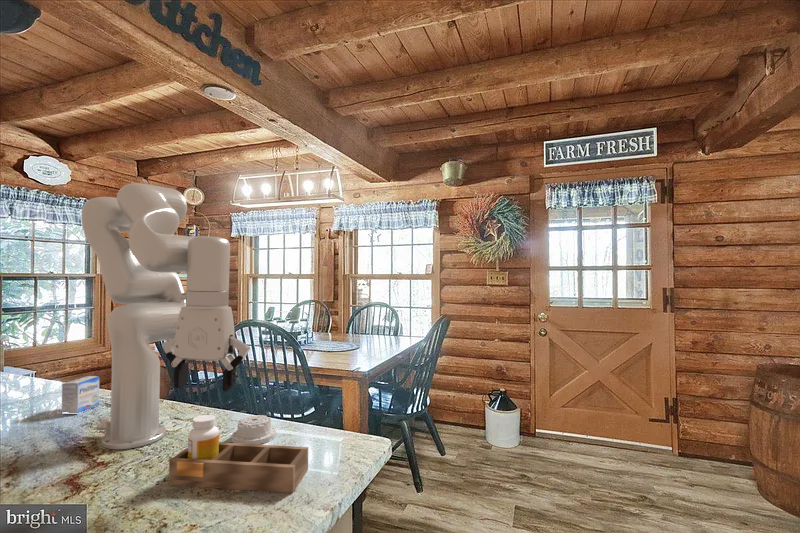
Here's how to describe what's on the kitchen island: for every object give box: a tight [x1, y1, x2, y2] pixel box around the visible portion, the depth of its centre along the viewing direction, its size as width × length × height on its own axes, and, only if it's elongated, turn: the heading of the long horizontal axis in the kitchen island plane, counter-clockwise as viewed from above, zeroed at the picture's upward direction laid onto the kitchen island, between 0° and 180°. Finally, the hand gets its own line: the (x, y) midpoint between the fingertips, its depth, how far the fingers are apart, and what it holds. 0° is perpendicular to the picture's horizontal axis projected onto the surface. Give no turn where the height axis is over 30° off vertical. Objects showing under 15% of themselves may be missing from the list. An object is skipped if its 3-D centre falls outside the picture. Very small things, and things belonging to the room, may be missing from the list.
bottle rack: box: [168, 441, 309, 494], centre depth 77 cm, size 24×9×4 cm, turn 85°
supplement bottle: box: [187, 414, 220, 460], centre depth 78 cm, size 5×5×10 cm
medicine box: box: [61, 375, 100, 413], centre depth 113 cm, size 8×4×9 cm, turn 179°
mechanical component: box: [231, 414, 277, 445], centre depth 96 cm, size 10×4×10 cm
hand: (204, 387), depth 79 cm, fingers open, 9 cm apart
